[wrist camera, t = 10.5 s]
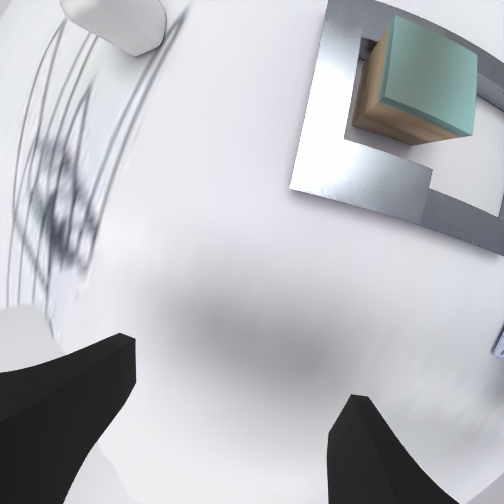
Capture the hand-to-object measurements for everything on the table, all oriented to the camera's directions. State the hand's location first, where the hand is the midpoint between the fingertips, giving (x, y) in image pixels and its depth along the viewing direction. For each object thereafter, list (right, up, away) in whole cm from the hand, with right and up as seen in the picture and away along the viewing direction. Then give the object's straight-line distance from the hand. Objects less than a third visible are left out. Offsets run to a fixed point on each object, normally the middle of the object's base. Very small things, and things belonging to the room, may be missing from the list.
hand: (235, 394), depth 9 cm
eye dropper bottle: (-7, +21, +7) cm, 23 cm away
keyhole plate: (+12, +12, +6) cm, 18 cm away
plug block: (+9, +13, +6) cm, 17 cm away
